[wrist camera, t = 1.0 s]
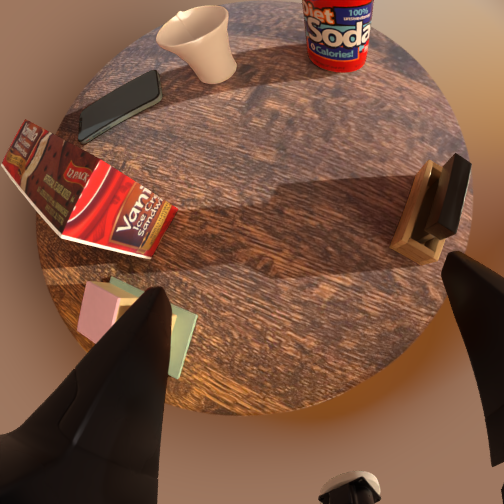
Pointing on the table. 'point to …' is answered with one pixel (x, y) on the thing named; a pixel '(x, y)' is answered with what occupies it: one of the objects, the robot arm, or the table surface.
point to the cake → (102, 308)
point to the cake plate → (179, 333)
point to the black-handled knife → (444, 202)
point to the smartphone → (119, 105)
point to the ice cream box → (85, 195)
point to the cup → (201, 42)
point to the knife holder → (405, 228)
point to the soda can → (337, 33)
